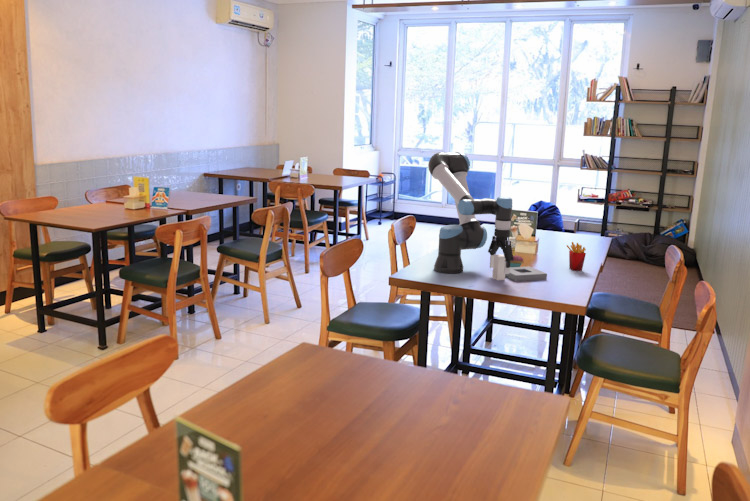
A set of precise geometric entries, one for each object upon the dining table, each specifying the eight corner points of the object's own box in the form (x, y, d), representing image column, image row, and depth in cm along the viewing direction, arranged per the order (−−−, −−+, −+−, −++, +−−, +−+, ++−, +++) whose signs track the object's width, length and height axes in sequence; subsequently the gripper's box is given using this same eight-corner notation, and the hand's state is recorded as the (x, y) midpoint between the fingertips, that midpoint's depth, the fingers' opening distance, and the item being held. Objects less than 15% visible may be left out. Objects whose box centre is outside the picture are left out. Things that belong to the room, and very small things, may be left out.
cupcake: (513, 270, 338) (515, 248, 335) (503, 267, 345) (505, 245, 343) (526, 269, 342) (528, 247, 339) (515, 266, 349) (517, 244, 347)
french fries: (578, 268, 349) (581, 241, 346) (585, 271, 342) (588, 244, 338) (563, 268, 348) (566, 241, 345) (570, 271, 340) (573, 244, 337)
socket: (515, 281, 316) (515, 275, 315) (498, 273, 330) (499, 267, 330) (546, 279, 322) (547, 273, 321) (528, 271, 336) (529, 266, 336)
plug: (496, 280, 316) (498, 256, 314) (492, 278, 320) (494, 254, 318) (504, 279, 318) (506, 256, 315) (500, 277, 322) (502, 254, 319)
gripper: (523, 233, 304) (519, 276, 308) (496, 224, 327) (493, 264, 331) (509, 233, 301) (505, 277, 305) (483, 224, 324) (480, 265, 328)
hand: (499, 270), depth 318 cm, fingers open, 13 cm apart
